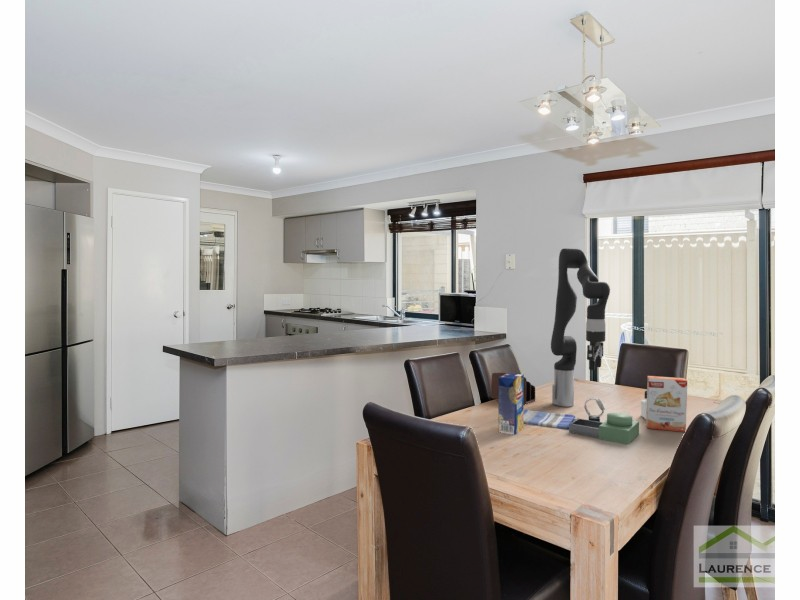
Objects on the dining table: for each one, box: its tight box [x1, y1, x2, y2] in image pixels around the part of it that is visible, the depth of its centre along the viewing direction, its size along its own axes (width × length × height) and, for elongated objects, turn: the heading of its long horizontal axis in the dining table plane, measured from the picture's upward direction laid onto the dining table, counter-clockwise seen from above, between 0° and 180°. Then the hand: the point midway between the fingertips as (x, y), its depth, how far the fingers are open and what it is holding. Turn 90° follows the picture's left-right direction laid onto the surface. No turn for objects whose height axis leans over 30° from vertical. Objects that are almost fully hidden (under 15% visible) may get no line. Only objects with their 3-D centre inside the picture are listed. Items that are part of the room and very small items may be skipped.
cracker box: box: [645, 375, 688, 433], centre depth 206 cm, size 14×6×21 cm, turn 69°
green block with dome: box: [598, 412, 640, 445], centre depth 196 cm, size 11×16×8 cm
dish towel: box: [523, 408, 577, 430], centre depth 218 cm, size 17×24×3 cm
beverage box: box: [497, 372, 525, 436], centre depth 204 cm, size 7×11×22 cm, turn 150°
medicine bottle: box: [640, 390, 647, 421], centre depth 222 cm, size 7×7×12 cm
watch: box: [583, 397, 606, 422], centre depth 213 cm, size 6×8×11 cm
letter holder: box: [490, 372, 536, 405], centre depth 256 cm, size 10×20×14 cm, turn 47°
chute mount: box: [568, 417, 605, 439], centre depth 201 cm, size 12×10×4 cm
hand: (595, 368), depth 212 cm, fingers open, 8 cm apart
